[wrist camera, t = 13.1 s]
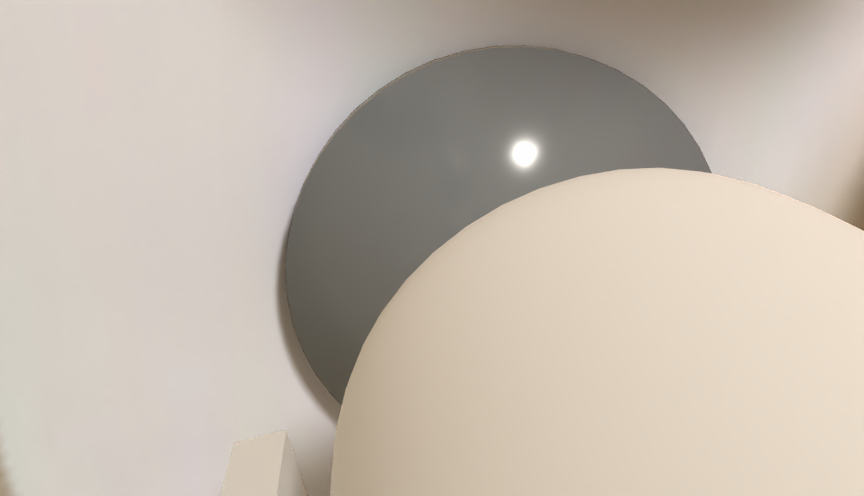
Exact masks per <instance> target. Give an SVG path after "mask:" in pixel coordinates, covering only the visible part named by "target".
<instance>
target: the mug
mask: <svg viewBox="0 0 864 496" xmlns="http://www.w3.org/2000/svg"><path fill="white" fill-rule="evenodd" d="M330 496H864V231H863V230H861V229H859V228H857V227H855V226H853V225H851V224H849V223H847V222H845V221H843V220H841V219H839V218H836V217H834V216H832V215H830V214H828V213H826V212H824V211H821V210H819V209H817V208H815V207H812V206H810V205H808V204H806V203H803V202H800V201H798V200H795V199H793V198H790V197H788V196H785V195H783V194H780V193H778V192H775V191H773V190H770V189H767V188H765V187H762V186H759V185H756V184H753V183H750V182H746V181H742V180H738V179H734V178H729V177H725V176H721V175H717V174H713V173H706V172H700V171H690V170H679V169H669V168H640V169H619V170H613V171H607V172H602V173H596V174H590V175H584V176H579V177H575V178H572V179H569V180H566V181H562V182H559V183H556V184H552V185H549V186H546V187H542V188H539V189H537V190H535V191H532V192H530V193H528V194H526V195H523V196H521V197H519V198H517V199H514V200H512V201H510V202H508V203H505V204H503V205H501V206H499V207H498V208H496V209H494V210H493V211H491V212H489V213H488V214H486V215H484V216H483V217H481V218H480V219H478V220H476V221H475V222H473V223H471V224H470V225H468V226H466V227H465V228H464V229H462V230H461V231H460V232H459V233H457V234H456V235H455V236H453V237H452V238H451V239H450V240H448V241H447V242H446V243H445V244H443V245H442V246H441V247H439V248H438V249H437V250H436V251H434V252H433V253H432V254H431V255H430V256H429V257H428V258H427V259H426V260H425V261H424V262H423V263H422V264H421V265H420V266H419V267H418V268H417V269H416V270H415V271H414V272H413V273H412V274H411V275H410V276H409V277H408V278H407V279H406V280H405V282H404V283H403V284H402V286H401V287H400V288H399V290H398V291H397V292H396V294H395V295H394V296H393V297H392V299H391V300H390V301H389V303H388V304H387V305H386V307H385V308H384V309H383V311H382V312H381V314H380V316H379V317H378V319H377V321H376V323H375V324H374V326H373V328H372V330H371V331H370V333H369V335H368V337H367V338H366V340H365V342H364V344H363V346H362V349H361V351H360V354H359V356H358V359H357V361H356V364H355V366H354V369H353V371H352V374H351V376H350V379H349V382H348V384H347V387H346V390H345V394H344V398H343V402H342V407H341V411H340V415H339V419H338V423H337V429H336V435H335V441H334V451H333V462H332V474H331V486H330Z"/></svg>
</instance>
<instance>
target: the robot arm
mask: <svg viewBox="0 0 864 496" xmlns="http://www.w3.org/2000/svg"><path fill="white" fill-rule="evenodd" d="M221 496H307V492H306V489H305V486H304V483H303V480H302V477H301V474H300V471H299V468H298V465H297V462H296V458H295V455H294V452H293V449H292V446H291V443H290V440H289V437H288V434H287V431H286V430H284V431H280V432H275V433H271V434H267V435H263V436H259V437H254V438H250V439H246V440H242V441H238V442H234V445H233V449H232V453H231V457H230V461H229V465H228V469H227V473H226V477H225V481H224V484H223V488H222V492H221Z"/></svg>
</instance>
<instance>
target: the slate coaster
mask: <svg viewBox="0 0 864 496" xmlns="http://www.w3.org/2000/svg"><path fill="white" fill-rule="evenodd" d="M640 168H669V169H679V170H690V171H700V172H706V173H711V171H710V169H709V166H708V164H707V162H706V160H705V158H704V156H703V154H702V152H701V149H700V147H699V146H698V144H697V143H696V141H695V140H694V138H693V137H692V135H691V134H690V132H689V131H688V129H687V128H686V126H685V125H684V124H683V123H682V122H681V120H680V119H679V118H678V117H677V116H676V115H675V114H674V113H673V112H672V110H671V109H670V108H669V107H668V106H667V105H666V104H665V103H664V102H663V101H661V100H660V99H659V98H658V97H657V96H655V95H654V94H653V93H652V92H650V91H649V90H648V89H647V88H646V87H644V86H643V85H641V84H640V83H638V82H636V81H635V80H633V79H631V78H630V77H628V76H626V75H625V74H623V73H622V72H620V71H618V70H616V69H613V68H611V67H609V66H606V65H604V64H601V63H599V62H597V61H594V60H592V59H589V58H586V57H583V56H580V55H576V54H572V53H568V52H564V51H560V50H557V49H551V48H542V47H534V46H525V45H522V46H492V47H485V48H479V49H473V50H467V51H462V52H459V53H455V54H452V55H449V56H445V57H442V58H439V59H435V60H433V61H430V62H428V63H426V64H424V65H422V66H419V67H417V68H415V69H413V70H410V71H408V72H406V73H404V74H403V75H401V76H400V77H398V78H396V79H395V80H393V81H392V82H390V83H388V84H387V85H385V86H384V87H382V88H380V89H379V90H378V91H376V92H375V93H374V94H373V95H372V96H370V97H369V98H368V99H367V100H366V101H364V102H363V103H362V104H361V105H359V106H358V107H357V108H356V109H355V110H354V111H353V112H352V113H351V114H350V115H349V116H348V117H347V119H346V120H345V121H344V122H343V123H342V124H341V125H340V126H339V127H338V128H337V129H336V130H335V132H334V133H333V135H332V136H331V137H330V139H329V140H328V142H327V143H326V144H325V146H324V147H323V149H322V150H321V152H320V153H319V154H318V156H317V158H316V160H315V162H314V164H313V166H312V168H311V170H310V172H309V173H308V175H307V177H306V179H305V181H304V184H303V187H302V190H301V192H300V195H299V198H298V201H297V204H296V207H295V210H294V214H293V219H292V224H291V228H290V233H289V238H288V243H287V257H286V284H287V297H288V303H289V308H290V312H291V316H292V321H293V325H294V328H295V331H296V334H297V336H298V339H299V341H300V344H301V347H302V349H303V352H304V353H305V355H306V357H307V359H308V361H309V362H310V364H311V366H312V368H313V370H314V371H315V373H316V375H317V376H318V377H319V379H320V380H321V381H322V383H323V384H324V385H325V387H326V388H327V389H328V391H329V392H330V393H331V395H332V396H333V397H334V398H335V399H336V400H337V401H338V402H339V403H340V404H341V405H342V402H343V398H344V394H345V390H346V387H347V384H348V382H349V379H350V376H351V374H352V371H353V369H354V366H355V364H356V361H357V359H358V356H359V354H360V351H361V349H362V346H363V344H364V342H365V340H366V338H367V337H368V335H369V333H370V331H371V330H372V328H373V326H374V324H375V323H376V321H377V319H378V317H379V316H380V314H381V312H382V311H383V309H384V308H385V307H386V305H387V304H388V303H389V301H390V300H391V299H392V297H393V296H394V295H395V294H396V292H397V291H398V290H399V288H400V287H401V286H402V284H403V283H404V282H405V280H406V279H407V278H408V277H409V276H410V275H411V274H412V273H413V272H414V271H415V270H416V269H417V268H418V267H419V266H420V265H421V264H422V263H423V262H424V261H425V260H426V259H427V258H428V257H429V256H430V255H431V254H432V253H433V252H434V251H436V250H437V249H438V248H439V247H441V246H442V245H443V244H445V243H446V242H447V241H448V240H450V239H451V238H452V237H453V236H455V235H456V234H457V233H459V232H460V231H461V230H462V229H464V228H465V227H466V226H468V225H470V224H471V223H473V222H475V221H476V220H478V219H480V218H481V217H483V216H484V215H486V214H488V213H489V212H491V211H493V210H494V209H496V208H498V207H499V206H501V205H503V204H505V203H508V202H510V201H512V200H514V199H517V198H519V197H521V196H523V195H526V194H528V193H530V192H532V191H535V190H537V189H539V188H542V187H546V186H549V185H552V184H556V183H559V182H562V181H566V180H569V179H572V178H575V177H579V176H584V175H590V174H596V173H602V172H607V171H613V170H619V169H640Z"/></svg>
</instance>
